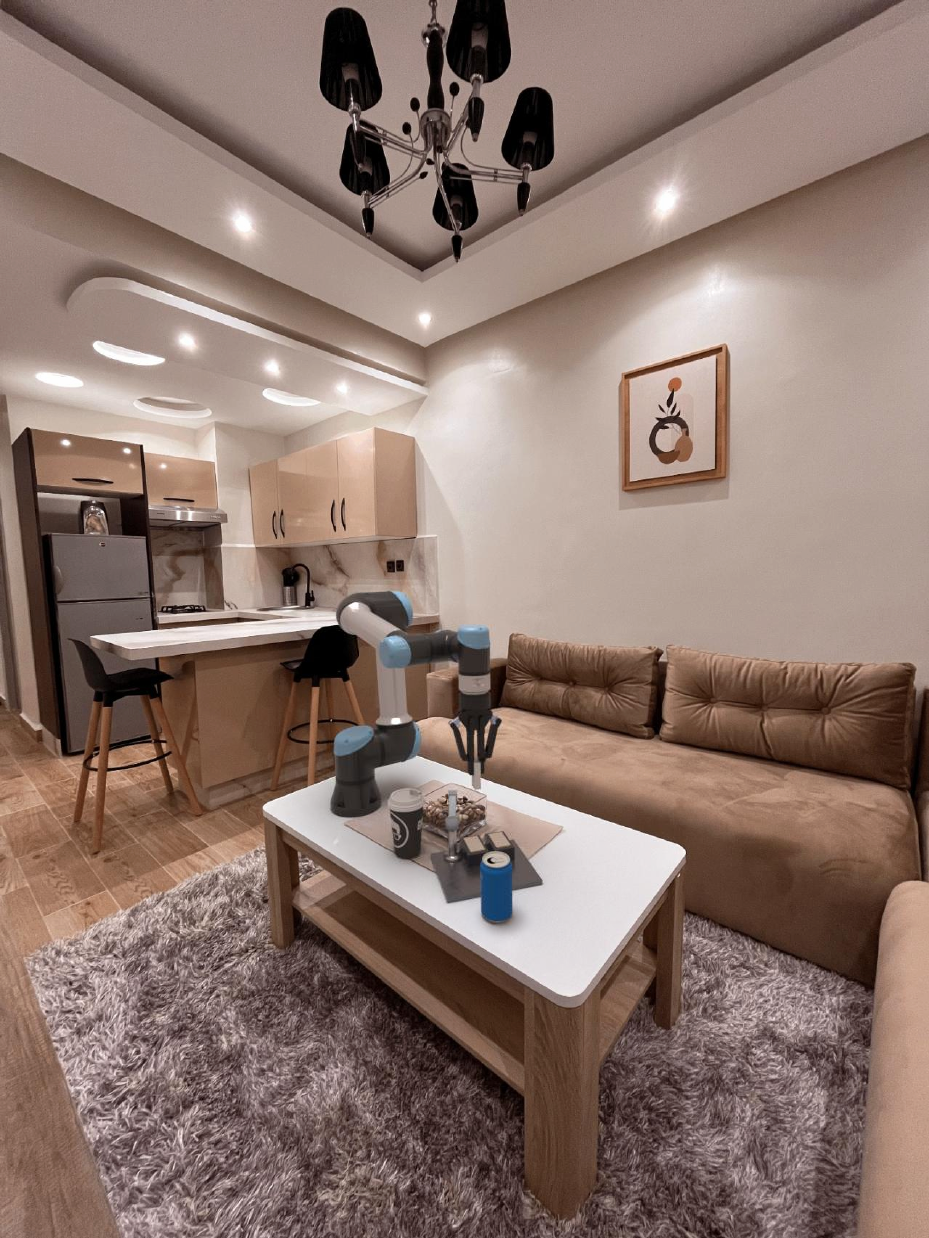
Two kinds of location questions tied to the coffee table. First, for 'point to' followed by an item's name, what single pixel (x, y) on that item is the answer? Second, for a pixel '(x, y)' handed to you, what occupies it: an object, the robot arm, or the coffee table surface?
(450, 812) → the cable arm
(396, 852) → the coffee cup
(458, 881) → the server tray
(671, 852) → the coffee table surface
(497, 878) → the beverage can
